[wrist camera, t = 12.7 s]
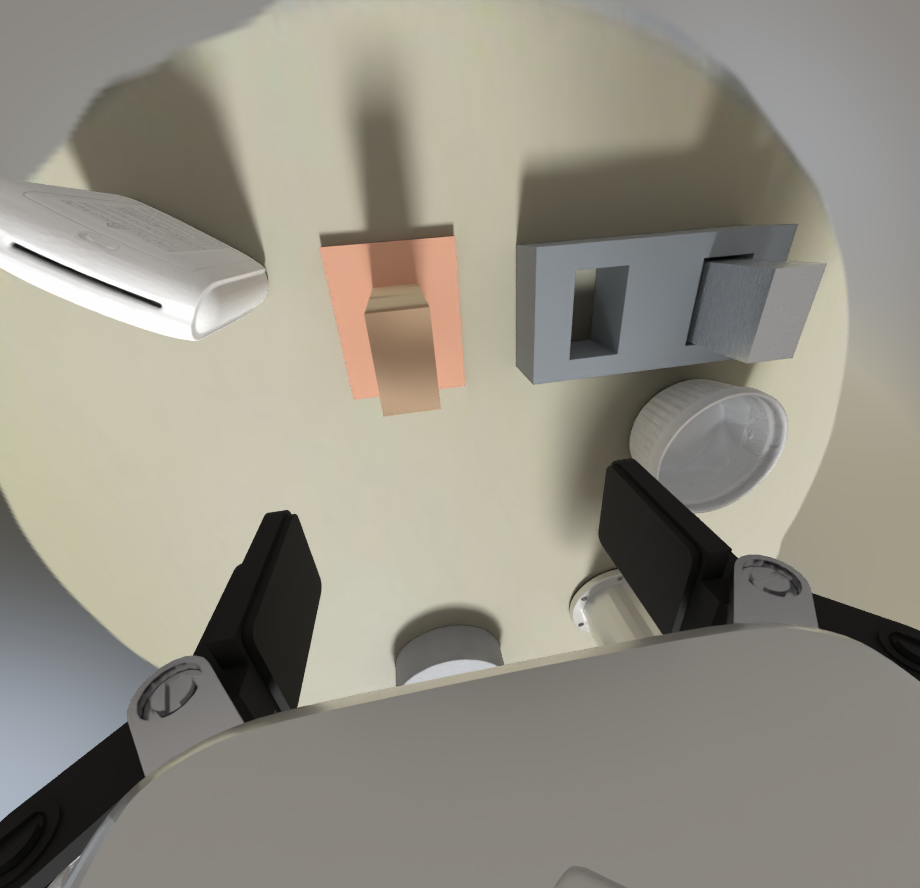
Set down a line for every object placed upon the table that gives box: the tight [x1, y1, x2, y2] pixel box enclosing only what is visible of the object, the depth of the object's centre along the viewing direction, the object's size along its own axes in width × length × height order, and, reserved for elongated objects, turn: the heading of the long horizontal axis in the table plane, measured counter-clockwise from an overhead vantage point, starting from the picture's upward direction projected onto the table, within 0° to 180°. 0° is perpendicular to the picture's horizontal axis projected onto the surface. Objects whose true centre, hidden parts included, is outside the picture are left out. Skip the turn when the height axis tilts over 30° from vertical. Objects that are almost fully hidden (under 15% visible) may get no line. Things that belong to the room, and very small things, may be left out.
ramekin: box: [629, 379, 788, 513], centre depth 39 cm, size 13×13×7 cm
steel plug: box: [686, 256, 827, 364], centre depth 30 cm, size 6×4×11 cm, turn 4°
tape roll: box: [395, 625, 504, 687], centre depth 54 cm, size 15×15×5 cm
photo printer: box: [0, 178, 268, 341], centre depth 22 cm, size 10×4×12 cm, turn 61°
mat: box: [320, 236, 465, 400], centre depth 32 cm, size 12×10×1 cm
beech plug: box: [364, 283, 441, 416], centre depth 27 cm, size 6×4×11 cm, turn 4°
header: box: [516, 224, 798, 385], centre depth 32 cm, size 10×20×5 cm, turn 94°
